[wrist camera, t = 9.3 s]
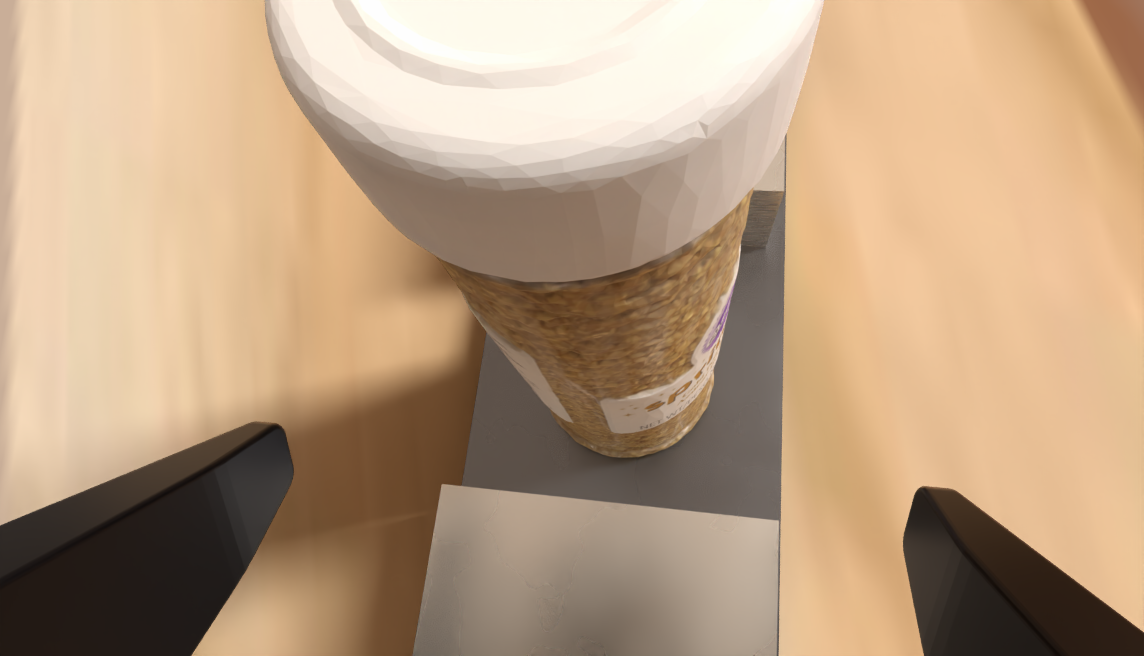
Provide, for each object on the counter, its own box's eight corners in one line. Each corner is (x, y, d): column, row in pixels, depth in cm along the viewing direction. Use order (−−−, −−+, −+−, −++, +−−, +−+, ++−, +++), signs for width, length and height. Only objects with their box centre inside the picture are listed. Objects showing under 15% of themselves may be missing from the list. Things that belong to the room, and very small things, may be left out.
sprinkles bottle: (713, 464, 16) (871, 170, 4) (534, 454, 17) (169, 176, 5) (714, 294, 18) (831, -325, 5) (548, 291, 19) (303, -265, 6)
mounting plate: (764, 984, 14) (802, 1153, 10) (409, 906, 15) (320, 1028, 11) (782, 12, 22) (807, -106, 18) (548, 14, 23) (524, -95, 19)
